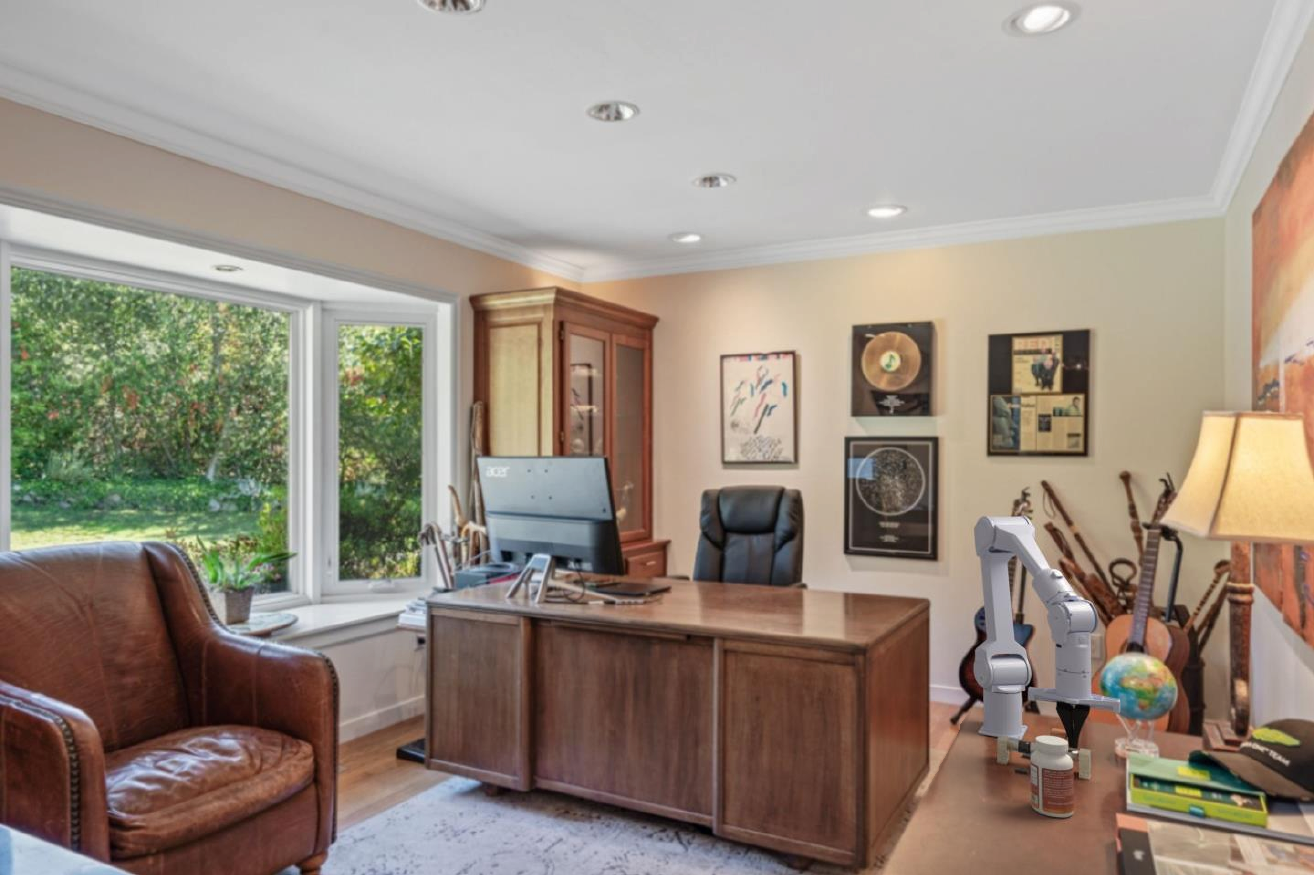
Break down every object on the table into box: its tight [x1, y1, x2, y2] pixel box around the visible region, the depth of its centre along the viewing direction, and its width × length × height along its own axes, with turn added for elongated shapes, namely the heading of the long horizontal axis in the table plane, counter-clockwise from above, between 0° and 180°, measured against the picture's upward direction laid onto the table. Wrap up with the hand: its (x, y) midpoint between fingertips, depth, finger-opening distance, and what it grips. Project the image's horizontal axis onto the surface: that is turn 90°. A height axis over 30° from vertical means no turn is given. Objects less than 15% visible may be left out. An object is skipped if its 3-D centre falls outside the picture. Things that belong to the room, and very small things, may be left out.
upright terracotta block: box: [1048, 727, 1068, 742], centre depth 148 cm, size 2×6×6 cm, turn 148°
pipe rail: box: [996, 735, 1092, 781], centre depth 149 cm, size 15×10×4 cm, turn 58°
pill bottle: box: [1030, 735, 1075, 819], centre depth 131 cm, size 6×6×11 cm
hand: (1073, 746), depth 146 cm, fingers closed
